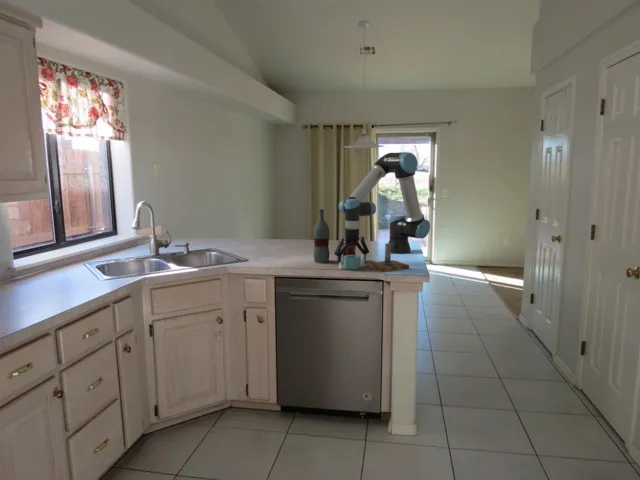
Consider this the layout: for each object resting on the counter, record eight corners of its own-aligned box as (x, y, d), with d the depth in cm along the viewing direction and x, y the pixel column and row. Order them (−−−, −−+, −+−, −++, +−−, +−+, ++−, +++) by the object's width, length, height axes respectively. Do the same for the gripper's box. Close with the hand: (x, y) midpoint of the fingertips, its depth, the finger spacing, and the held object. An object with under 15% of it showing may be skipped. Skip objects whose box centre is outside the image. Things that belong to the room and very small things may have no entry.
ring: (354, 265, 251) (354, 254, 250) (362, 268, 243) (362, 257, 242) (341, 266, 247) (341, 255, 246) (348, 269, 240) (348, 258, 239)
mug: (342, 259, 267) (342, 242, 265) (357, 259, 265) (357, 242, 263) (339, 263, 255) (339, 245, 254) (355, 264, 253) (355, 246, 252)
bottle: (326, 263, 254) (326, 210, 250) (311, 262, 258) (310, 210, 253) (331, 260, 263) (331, 209, 258) (316, 259, 266) (316, 208, 261)
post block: (393, 263, 255) (394, 240, 252) (409, 268, 242) (409, 244, 240) (366, 266, 247) (366, 243, 245) (380, 272, 234) (381, 247, 232)
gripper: (368, 226, 250) (367, 263, 254) (328, 228, 240) (327, 267, 243) (375, 227, 244) (375, 266, 247) (334, 230, 233) (334, 270, 236)
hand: (351, 267), depth 245 cm, fingers open, 13 cm apart
